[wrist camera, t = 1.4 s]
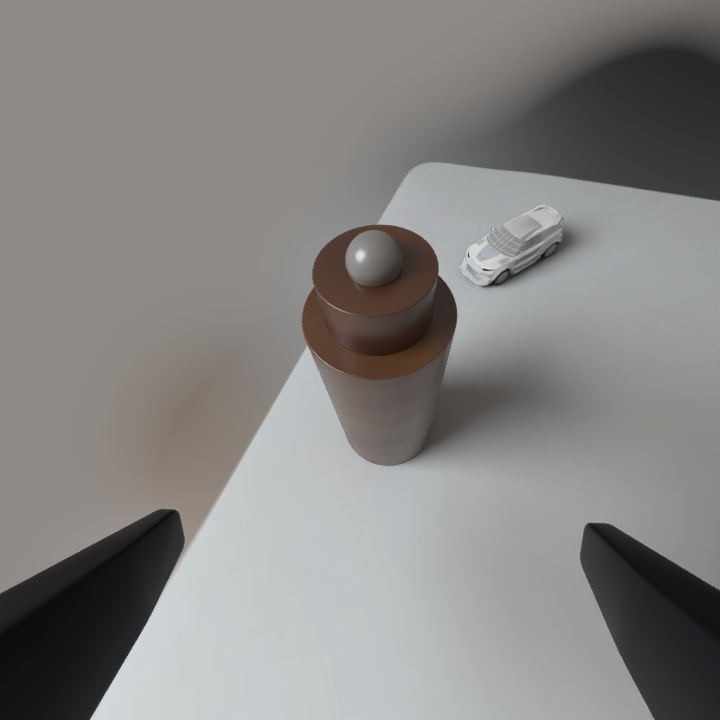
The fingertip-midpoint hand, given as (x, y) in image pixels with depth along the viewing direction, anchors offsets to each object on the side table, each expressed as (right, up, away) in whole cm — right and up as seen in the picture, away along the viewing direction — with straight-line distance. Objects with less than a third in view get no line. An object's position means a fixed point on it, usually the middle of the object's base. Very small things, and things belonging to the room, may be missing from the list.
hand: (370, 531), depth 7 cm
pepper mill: (+1, 0, +13) cm, 13 cm away
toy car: (+11, +12, +19) cm, 25 cm away
